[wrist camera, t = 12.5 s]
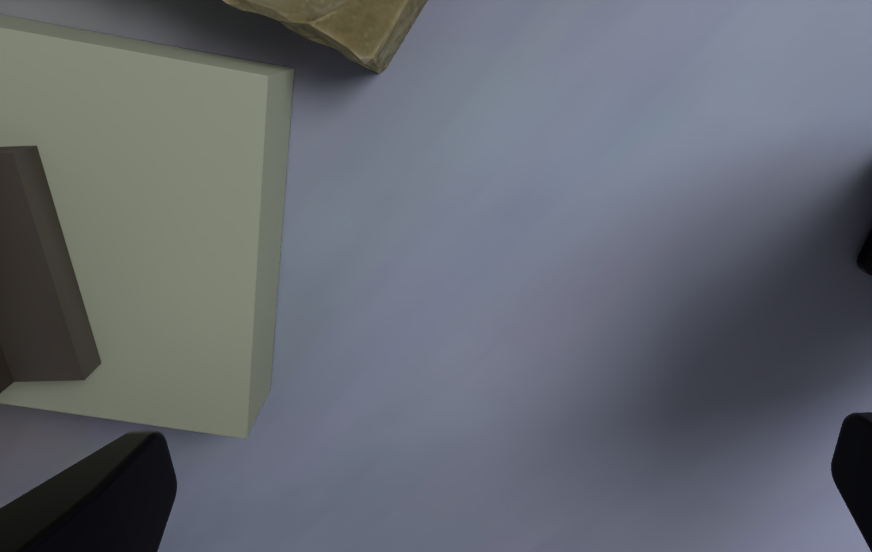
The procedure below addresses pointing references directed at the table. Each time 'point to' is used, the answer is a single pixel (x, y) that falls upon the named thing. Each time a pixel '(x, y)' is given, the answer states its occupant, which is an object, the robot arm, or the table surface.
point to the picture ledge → (157, 217)
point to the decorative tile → (345, 24)
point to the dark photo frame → (37, 282)
